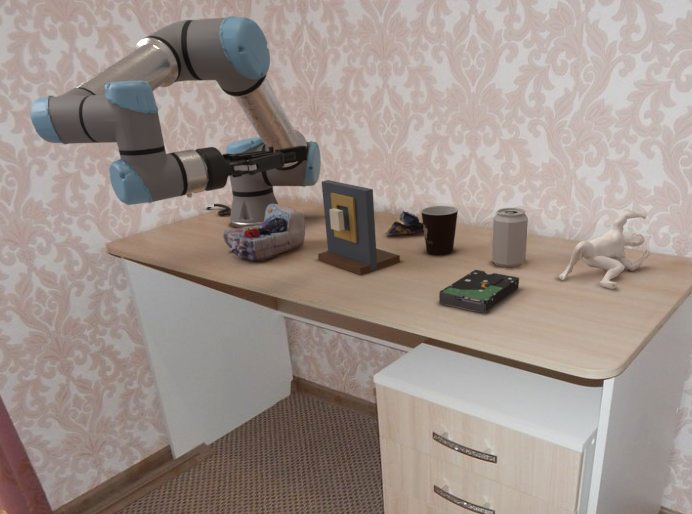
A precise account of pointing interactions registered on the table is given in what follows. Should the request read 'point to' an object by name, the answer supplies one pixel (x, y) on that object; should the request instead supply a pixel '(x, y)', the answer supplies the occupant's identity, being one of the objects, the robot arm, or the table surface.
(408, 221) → the snack package
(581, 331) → the table surface
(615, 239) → the person figurine
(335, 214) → the switch paddle
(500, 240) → the can
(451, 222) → the coffee mug
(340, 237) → the switch wall
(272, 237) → the cell model
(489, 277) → the disk drive
